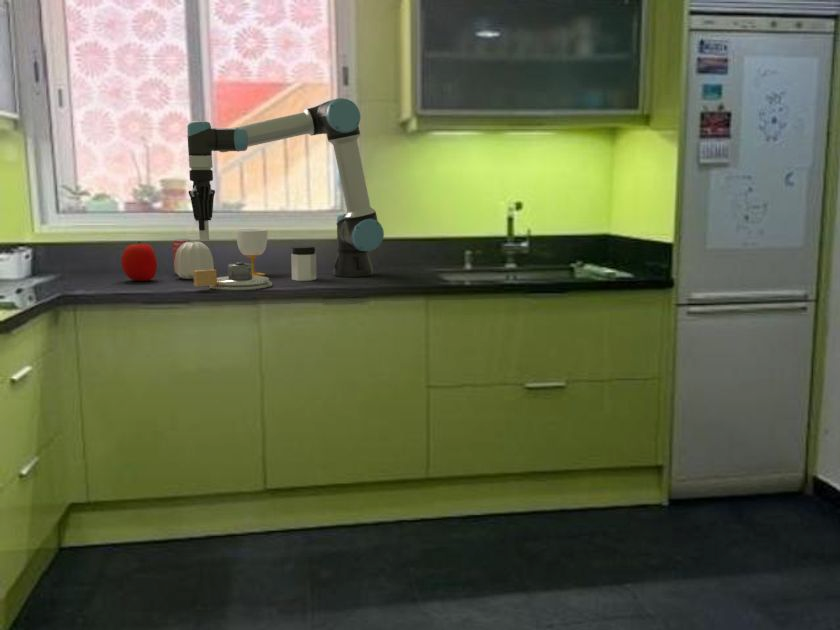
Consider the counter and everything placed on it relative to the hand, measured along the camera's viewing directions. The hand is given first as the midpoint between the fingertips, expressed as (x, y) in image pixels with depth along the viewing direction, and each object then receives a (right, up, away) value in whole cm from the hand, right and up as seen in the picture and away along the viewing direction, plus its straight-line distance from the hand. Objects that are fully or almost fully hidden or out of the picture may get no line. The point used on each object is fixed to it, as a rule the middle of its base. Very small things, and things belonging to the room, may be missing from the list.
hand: (204, 239), depth 278 cm
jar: (+31, -13, +23) cm, 40 cm away
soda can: (-18, -10, +38) cm, 43 cm away
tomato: (-28, -13, +17) cm, 35 cm away
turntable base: (+11, -15, +5) cm, 20 cm away
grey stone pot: (+11, -13, +5) cm, 18 cm away
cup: (+9, -10, +35) cm, 38 cm away
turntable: (+9, -15, +2) cm, 17 cm away
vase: (-10, -12, +26) cm, 30 cm away
